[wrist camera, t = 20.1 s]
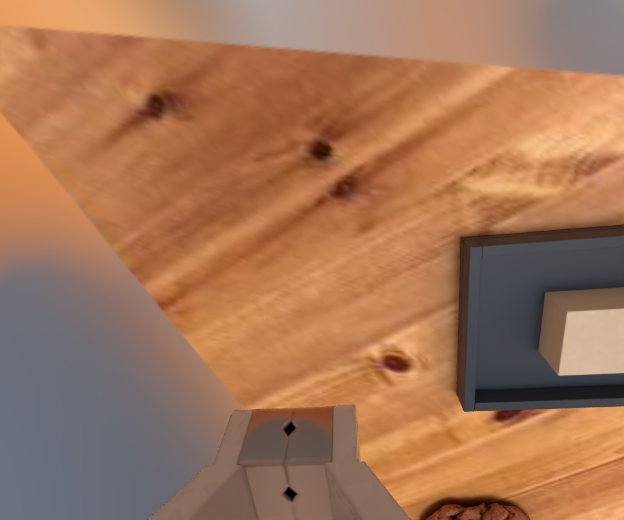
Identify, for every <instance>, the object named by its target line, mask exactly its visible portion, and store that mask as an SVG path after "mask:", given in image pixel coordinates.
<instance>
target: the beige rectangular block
mask: <svg viewBox="0 0 624 520" xmlns="http://www.w3.org/2000/svg"><path fill="white" fill-rule="evenodd" d="M538 351H539V352H540V354H541V355H542V356H543V357H544V358H545V360H546V361H547V362H548V363H549V365H550V366H551V367H552V368H553V370H554V371H555V372H556V373H557V374H558V375H559V376H562V375H587V374H613V373H624V287H619V288H603V289H586V290H570V291H554V292H545V298H544V307H543V315H542V324H541V333H540V341H539V350H538Z"/></svg>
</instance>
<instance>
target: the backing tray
mask: <svg viewBox="0 0 624 520" xmlns="http://www.w3.org/2000/svg"><path fill="white" fill-rule="evenodd" d="M619 287H624V225H618V226H605V227H592V228H580V229H567V230H554V231H541V232H528V233H515V234H502V235H489V236H477V237H464V238H461V257H460V293H459V328H458V364H457V396H458V398H459V401H460V403H461V406H462V408H463V410H464V412H470V411H496V410H526V409H556V408H586V407H616V406H624V373H613V374H587V375H562V376H559V375H558V374H557V373H556V372H555V371H554V370H553V368H552V367H551V366H550V365H549V363H548V362H547V361H546V360H545V358H544V357H543V356H542V355H541V354H540V352H539V351H538V350H539V341H540V333H541V324H542V315H543V307H544V298H545V292H554V291H570V290H586V289H603V288H619Z"/></svg>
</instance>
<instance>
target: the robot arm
mask: <svg viewBox="0 0 624 520" xmlns="http://www.w3.org/2000/svg"><path fill="white" fill-rule="evenodd" d="M148 520H411V519H410V518H409V517H408V515H407V514H406V513H405V512H404V510H403V509H402V508H401V507H400V505H399V504H398V503H397V502H396V500H395V499H394V498H393V497H392V495H391V494H390V493H389V492H388V490H387V489H386V488H385V487H384V486H383V484H382V483H381V482H380V481H379V479H378V478H377V477H376V476H375V474H374V473H373V472H372V471H371V469H370V468H369V467H368V466H367V464H366V463H365V462H361V456H360V445H359V435H358V425H357V414H356V407H355V405H338V406H325V407H307V408H283V409H255V410H235V411H234V412H233V413H232V414H231V416H230V419H229V422H228V425H227V428H226V431H225V433H224V436H223V439H222V442H221V445H220V447H219V450H218V453H217V455H216V458H215V461H214V464H213V466H206V467H205V468H204V469H203V470H202V471H201V472H200V473H199V474H197V475H196V476H195V477H194V478H193V479H192V480H191V481H190V482H189V483H188V484H186V485H185V486H184V487H183V488H182V489H181V490H180V491H179V492H178V493H177V494H175V495H174V496H173V497H172V498H171V499H170V500H169V501H168V502H167V503H166V504H164V505H163V506H162V507H161V508H160V509H159V510H158V511H157V512H156V513H155V514H153V515H152V516H151V517H150V518H149V519H148Z"/></svg>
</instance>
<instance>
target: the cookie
mask: <svg viewBox="0 0 624 520" xmlns="http://www.w3.org/2000/svg"><path fill="white" fill-rule="evenodd" d="M426 520H530V519H529V517H528V516H527V515H526V514H525V513H524V512H522V511H520V509H519V508H516V507H514V506H507V505H505V506H503V505H499V504H498V503H495V504H493V503H492V504H491V505H488V507H487V506H486V504H485V503H483V504H480V505H478V506H473V507H468V508H462V506H460V505H457V504H451V505H444V506H442V507H441V508H440V509H439V510H437V511H436V512H435V513H433V515H431V516H429V517H428V518H427V519H426Z"/></svg>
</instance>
